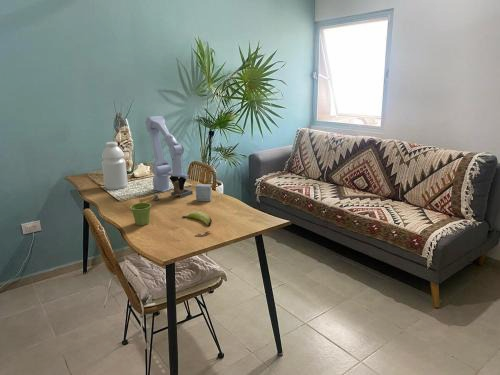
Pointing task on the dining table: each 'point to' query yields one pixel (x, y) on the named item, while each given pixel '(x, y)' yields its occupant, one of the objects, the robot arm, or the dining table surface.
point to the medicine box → (203, 192)
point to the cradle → (186, 193)
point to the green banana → (201, 217)
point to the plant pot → (141, 213)
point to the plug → (177, 188)
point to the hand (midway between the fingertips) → (178, 189)
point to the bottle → (114, 167)
